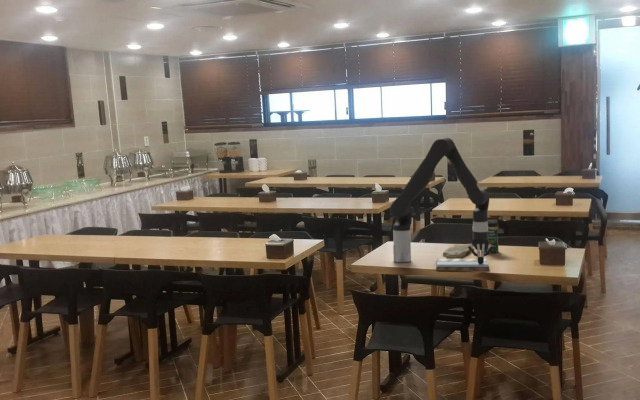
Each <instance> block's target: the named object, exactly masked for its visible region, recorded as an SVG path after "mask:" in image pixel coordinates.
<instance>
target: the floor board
mask: <svg viewBox="0 0 640 400" xmlns="http://www.w3.org/2000/svg"><path fill="white" fill-rule="evenodd" d="M437 261H470V262H478V258H436V260H435V270H436V271H453V272H455V271H456V272H457V271H458V272H459V271H460V272H461V271H463V272H465V271H468V272H469V271H479V272H482V271H485V272H486V271H488V272H489V271H490V266H489V265H488V267H437ZM484 262H487V263H488V260H487V259H486V258H484Z"/></svg>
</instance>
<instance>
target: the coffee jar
mask: <svg viewBox="0 0 640 400" xmlns="http://www.w3.org/2000/svg"><path fill="white" fill-rule="evenodd" d="M499 227H500V226H499V221H498V220H497V219H488V241H489V244H490V245H492V246H493V249H492V250H491V252H490V253H489V254H495V253H498V252H499V243H498V242H499V237H498V231H499ZM488 249H489V248H488V247H487V248H486V249H485V250H484V253H485V252H486V251H487V250H488Z"/></svg>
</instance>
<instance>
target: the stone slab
mask: <svg viewBox="0 0 640 400" xmlns="http://www.w3.org/2000/svg"><path fill="white" fill-rule="evenodd" d="M471 244H472V243H465V244H462V243H461V244H460V243H456V244H454V245H453V246H451V247H448V248H447V249H446V248H445V250H444V251H443V253H442V256H443V257H445V258H446V259H463V258H465V257H466V256H467V254H469V252H471V251H470V250H469V248H468V245H471Z"/></svg>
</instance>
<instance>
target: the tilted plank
mask: <svg viewBox="0 0 640 400" xmlns="http://www.w3.org/2000/svg"><path fill="white" fill-rule="evenodd" d="M436 261H437V260H436ZM488 266H489V263H488V261H487V262H484V263H482V264H479V263H478V262H470V261H437V267H488Z"/></svg>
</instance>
